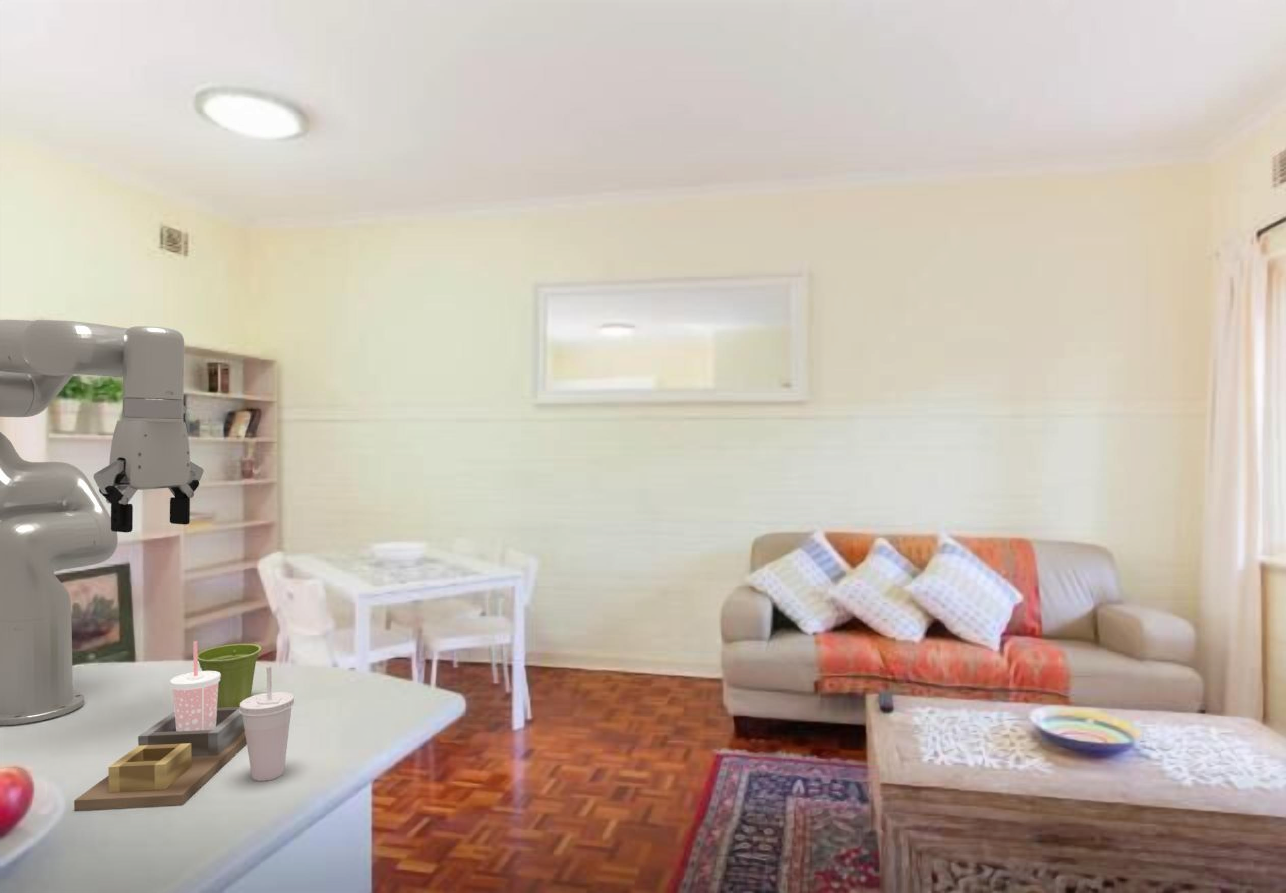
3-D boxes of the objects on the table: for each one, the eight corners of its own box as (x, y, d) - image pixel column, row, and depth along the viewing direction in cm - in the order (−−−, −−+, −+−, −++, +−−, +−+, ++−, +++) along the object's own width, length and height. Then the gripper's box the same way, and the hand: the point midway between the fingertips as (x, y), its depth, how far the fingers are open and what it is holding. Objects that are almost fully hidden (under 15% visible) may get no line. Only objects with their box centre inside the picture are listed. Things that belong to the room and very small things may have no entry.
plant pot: (266, 706, 123) (265, 653, 123) (199, 718, 118) (198, 663, 118) (257, 690, 131) (256, 640, 131) (194, 701, 126) (193, 649, 126)
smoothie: (258, 790, 94) (256, 676, 93) (229, 778, 97) (227, 669, 97) (305, 770, 99) (304, 663, 99) (276, 760, 102) (275, 656, 102)
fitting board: (171, 737, 111) (171, 708, 111) (257, 733, 112) (257, 704, 112) (74, 810, 89) (73, 774, 89) (182, 804, 90) (182, 769, 90)
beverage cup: (213, 729, 110) (212, 633, 110) (227, 740, 106) (226, 640, 106) (164, 741, 106) (163, 641, 106) (178, 754, 102) (177, 649, 102)
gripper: (182, 412, 121) (180, 519, 122) (76, 409, 105) (74, 533, 105) (221, 413, 119) (219, 522, 120) (119, 410, 103) (117, 536, 103)
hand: (151, 527), depth 112 cm, fingers open, 9 cm apart
